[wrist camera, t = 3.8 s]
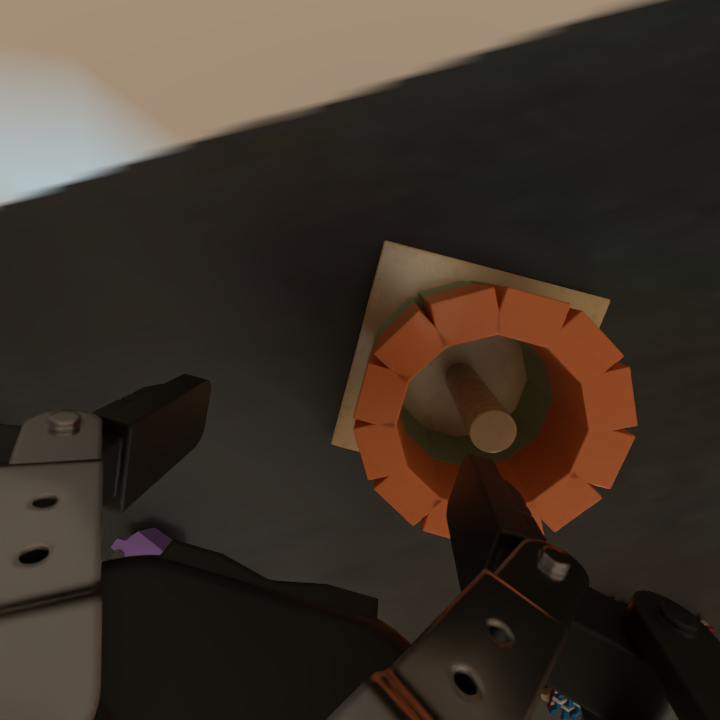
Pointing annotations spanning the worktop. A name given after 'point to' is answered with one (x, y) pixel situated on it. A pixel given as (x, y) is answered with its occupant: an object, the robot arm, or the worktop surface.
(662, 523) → the worktop surface
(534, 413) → the green ring
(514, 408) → the ring stand
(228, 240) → the worktop surface
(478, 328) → the orange ring
